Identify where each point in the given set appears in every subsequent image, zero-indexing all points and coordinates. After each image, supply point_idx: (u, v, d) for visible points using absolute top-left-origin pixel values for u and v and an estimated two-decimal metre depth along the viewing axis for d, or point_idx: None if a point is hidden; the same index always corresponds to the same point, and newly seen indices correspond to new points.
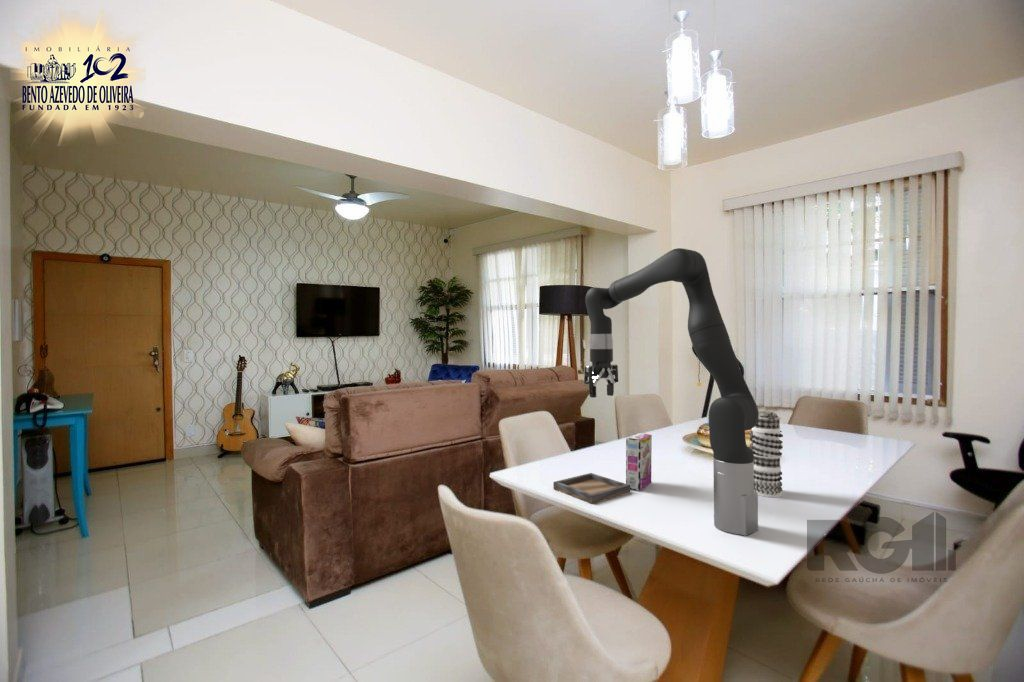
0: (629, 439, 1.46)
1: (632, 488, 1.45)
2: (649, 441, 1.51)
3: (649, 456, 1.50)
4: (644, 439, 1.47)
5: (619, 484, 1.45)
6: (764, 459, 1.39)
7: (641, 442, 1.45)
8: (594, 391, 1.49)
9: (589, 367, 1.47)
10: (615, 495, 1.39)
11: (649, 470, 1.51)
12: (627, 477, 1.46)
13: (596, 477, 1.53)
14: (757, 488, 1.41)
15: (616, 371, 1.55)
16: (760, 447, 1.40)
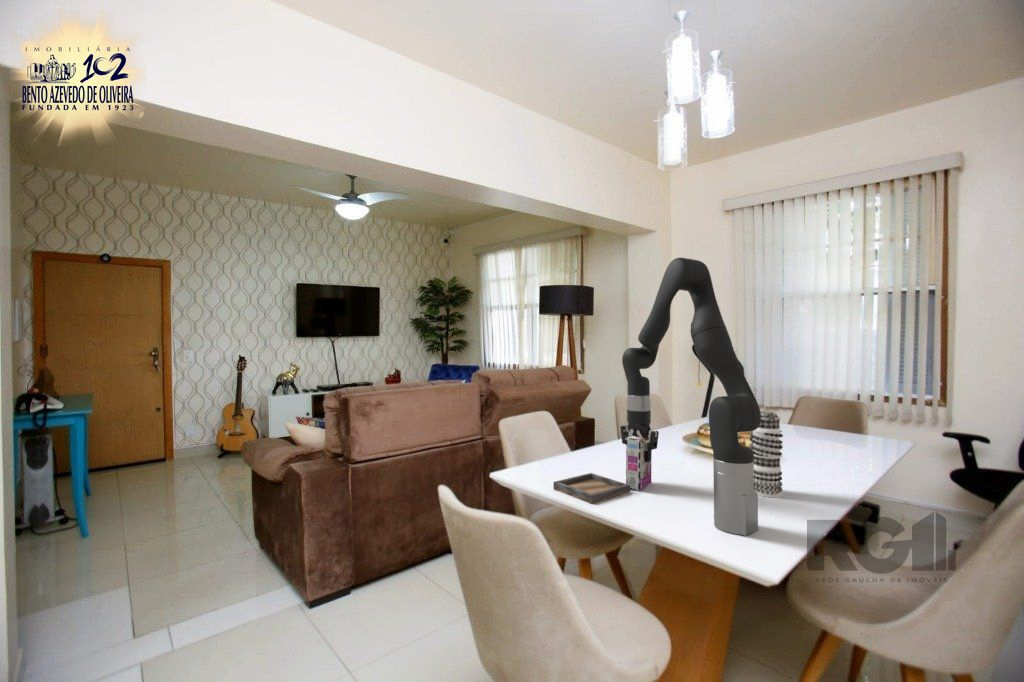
0: (629, 439, 1.46)
1: (632, 488, 1.45)
2: None
3: None
4: (644, 439, 1.47)
5: (619, 484, 1.45)
6: (764, 459, 1.39)
7: (641, 442, 1.45)
8: None
9: (657, 432, 1.45)
10: (615, 495, 1.39)
11: (649, 470, 1.51)
12: (627, 477, 1.46)
13: (596, 477, 1.53)
14: (757, 488, 1.41)
15: None
16: (760, 447, 1.40)
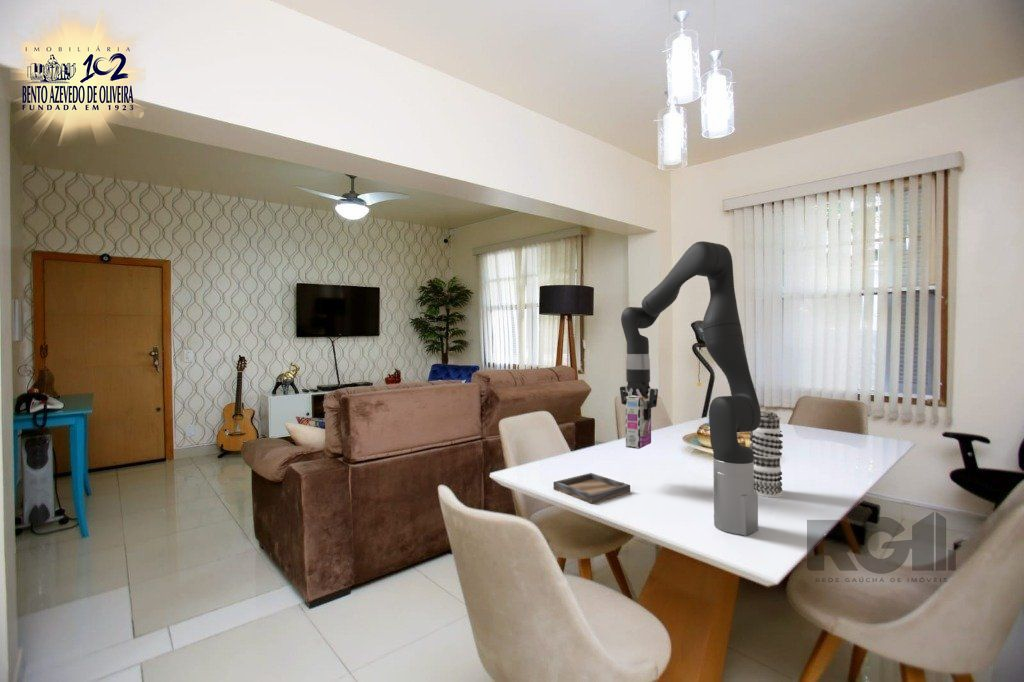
0: (629, 397, 1.46)
1: (632, 446, 1.45)
2: None
3: None
4: (644, 398, 1.47)
5: (619, 484, 1.45)
6: (764, 459, 1.39)
7: (641, 400, 1.45)
8: None
9: (657, 390, 1.45)
10: (615, 495, 1.39)
11: (649, 430, 1.51)
12: (627, 435, 1.46)
13: (596, 477, 1.53)
14: (757, 488, 1.41)
15: None
16: (760, 447, 1.40)
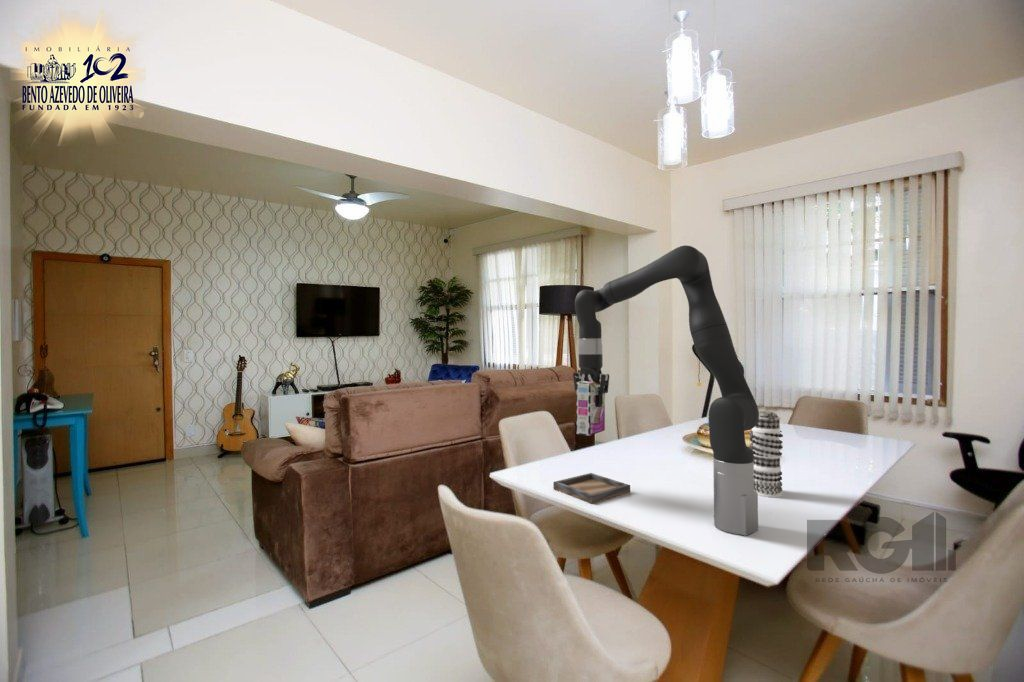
0: (579, 383, 1.42)
1: (582, 433, 1.41)
2: None
3: None
4: (595, 383, 1.43)
5: (619, 484, 1.45)
6: (764, 459, 1.39)
7: (591, 385, 1.41)
8: None
9: (608, 376, 1.40)
10: (615, 495, 1.39)
11: (602, 417, 1.47)
12: (577, 422, 1.42)
13: (596, 477, 1.53)
14: (757, 488, 1.41)
15: None
16: (760, 447, 1.40)
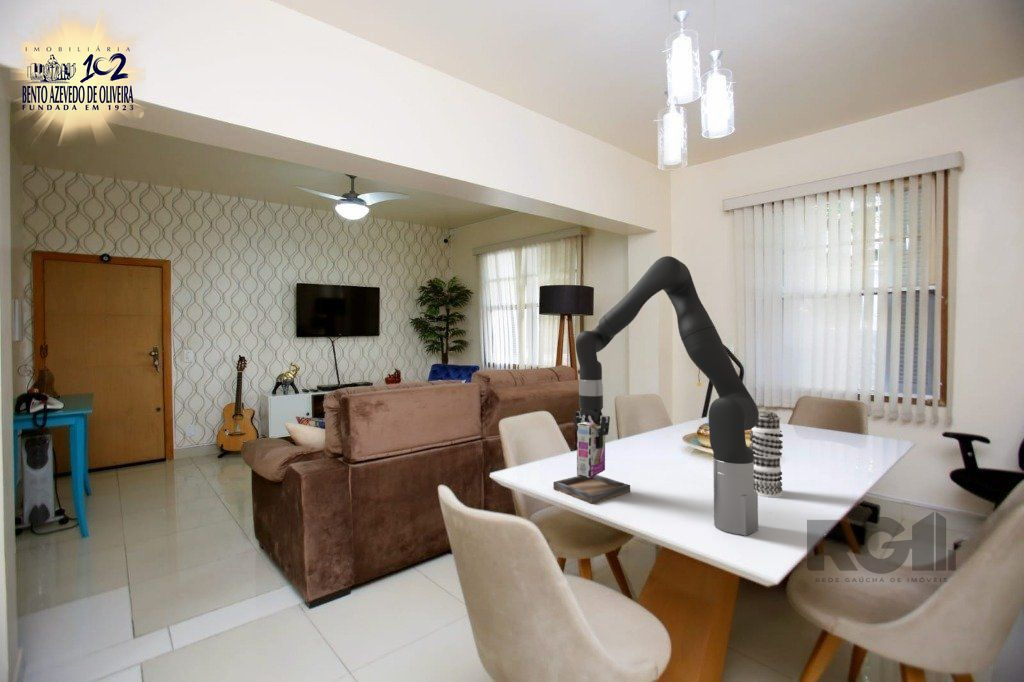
0: (580, 425, 1.42)
1: (583, 475, 1.41)
2: None
3: None
4: (596, 425, 1.43)
5: (619, 484, 1.45)
6: (764, 459, 1.39)
7: (592, 427, 1.41)
8: None
9: (608, 418, 1.40)
10: (615, 495, 1.39)
11: (602, 457, 1.46)
12: (578, 464, 1.42)
13: (596, 477, 1.53)
14: (757, 488, 1.41)
15: None
16: (760, 447, 1.40)
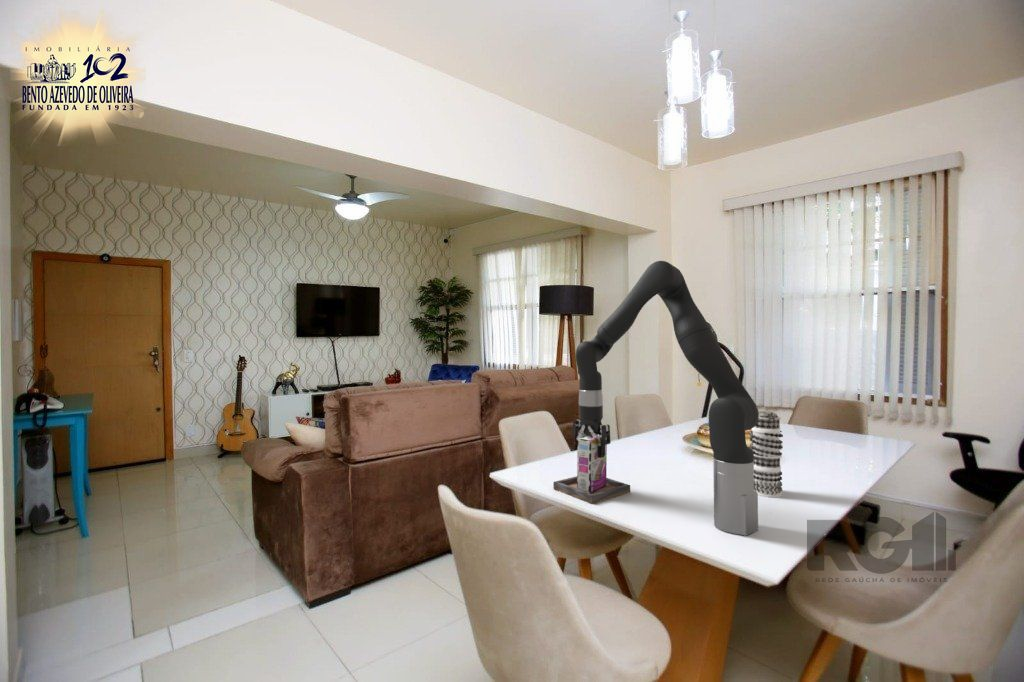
0: (580, 440, 1.42)
1: (583, 490, 1.41)
2: None
3: (603, 458, 1.46)
4: None
5: (619, 484, 1.45)
6: (764, 459, 1.39)
7: (592, 443, 1.40)
8: None
9: (608, 426, 1.40)
10: (615, 495, 1.39)
11: (603, 472, 1.46)
12: (578, 479, 1.42)
13: None
14: (757, 488, 1.41)
15: None
16: (760, 447, 1.40)
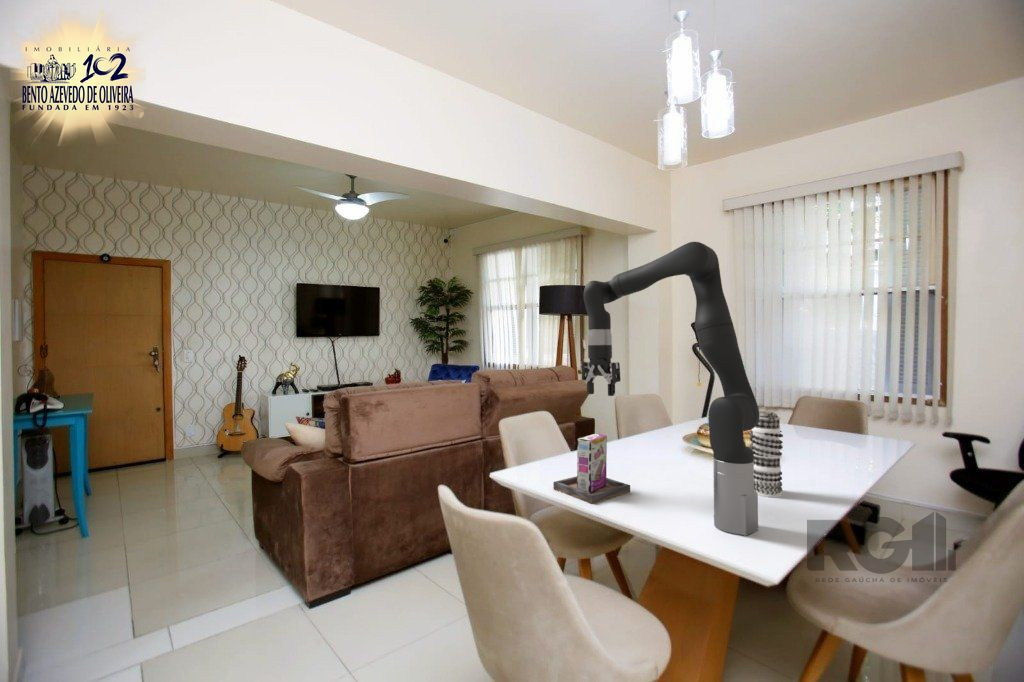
0: (580, 440, 1.42)
1: (583, 490, 1.41)
2: (603, 442, 1.46)
3: (603, 458, 1.46)
4: (596, 440, 1.42)
5: (619, 484, 1.45)
6: (764, 459, 1.39)
7: (592, 443, 1.40)
8: None
9: (618, 364, 1.41)
10: (615, 495, 1.39)
11: (603, 472, 1.46)
12: (578, 479, 1.42)
13: None
14: (757, 488, 1.41)
15: None
16: (760, 447, 1.40)
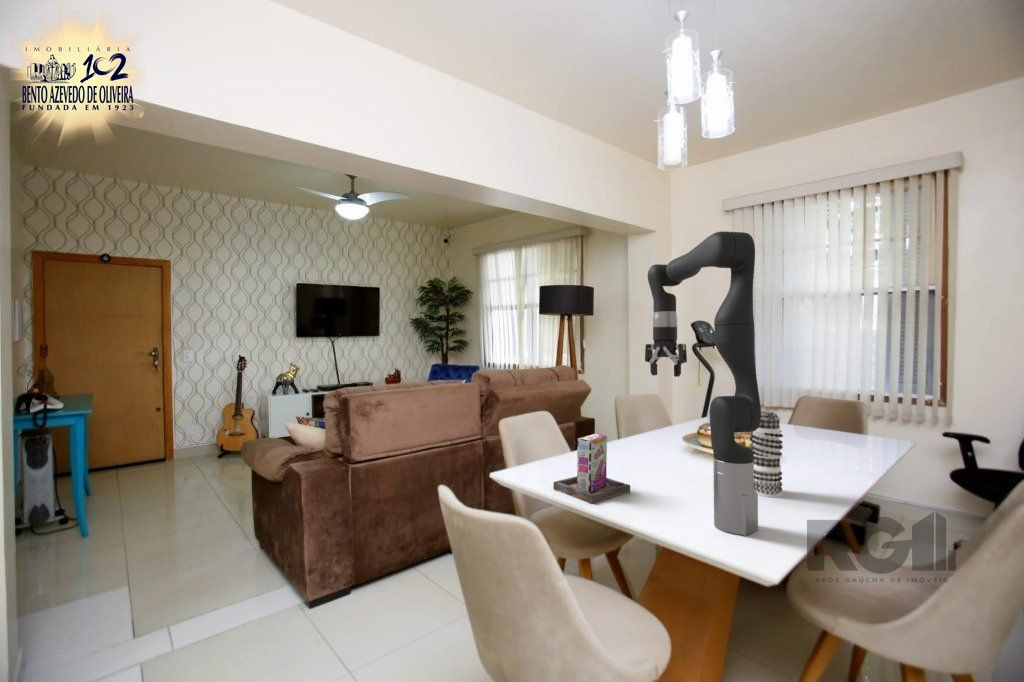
0: (580, 440, 1.42)
1: (583, 490, 1.41)
2: (603, 442, 1.46)
3: (603, 458, 1.46)
4: (596, 440, 1.42)
5: (619, 484, 1.45)
6: (764, 459, 1.39)
7: (592, 443, 1.40)
8: None
9: (685, 345, 1.44)
10: (615, 495, 1.39)
11: (603, 472, 1.46)
12: (578, 479, 1.42)
13: None
14: (757, 488, 1.41)
15: None
16: (760, 447, 1.40)
